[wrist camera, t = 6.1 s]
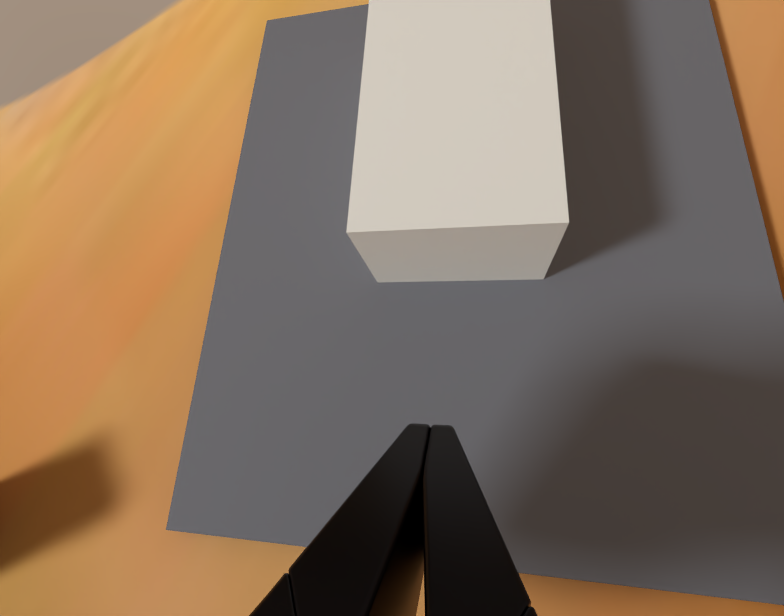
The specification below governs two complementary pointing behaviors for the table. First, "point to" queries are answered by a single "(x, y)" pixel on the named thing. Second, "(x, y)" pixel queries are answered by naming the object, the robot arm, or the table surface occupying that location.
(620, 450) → the rubber mat
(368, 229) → the cream block
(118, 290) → the table surface
